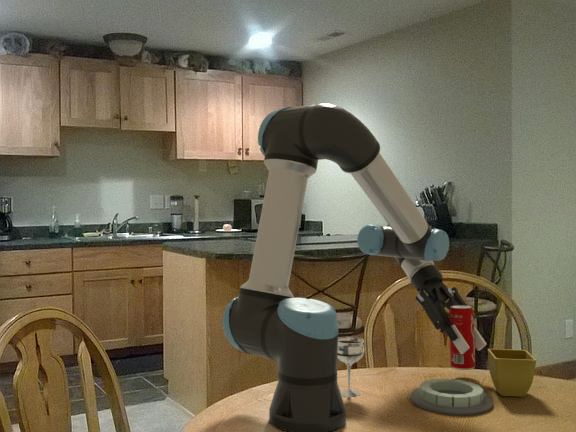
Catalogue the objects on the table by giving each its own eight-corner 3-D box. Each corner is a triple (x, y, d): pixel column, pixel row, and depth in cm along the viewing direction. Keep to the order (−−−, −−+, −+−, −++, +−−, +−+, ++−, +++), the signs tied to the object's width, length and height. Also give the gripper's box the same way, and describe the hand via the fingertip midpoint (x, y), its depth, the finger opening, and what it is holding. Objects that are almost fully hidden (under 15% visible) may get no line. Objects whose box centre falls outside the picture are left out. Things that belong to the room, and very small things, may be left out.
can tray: (423, 416, 134) (423, 401, 134) (402, 389, 151) (402, 376, 151) (505, 414, 136) (505, 399, 135) (475, 388, 153) (475, 375, 152)
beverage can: (475, 372, 157) (478, 308, 157) (447, 369, 159) (449, 307, 158) (473, 365, 163) (476, 304, 163) (446, 363, 165) (449, 303, 164)
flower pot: (525, 388, 153) (526, 349, 152) (536, 400, 144) (537, 359, 144) (486, 387, 154) (487, 348, 153) (494, 399, 145) (495, 358, 144)
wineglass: (369, 396, 147) (370, 342, 146) (341, 399, 144) (342, 344, 144) (355, 387, 153) (355, 335, 153) (328, 390, 151) (328, 338, 150)
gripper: (438, 279, 178) (488, 352, 166) (388, 284, 167) (439, 363, 154) (454, 261, 174) (507, 335, 161) (405, 265, 162) (458, 345, 150)
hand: (473, 349), depth 158 cm, fingers closed on beverage can, 6 cm apart
